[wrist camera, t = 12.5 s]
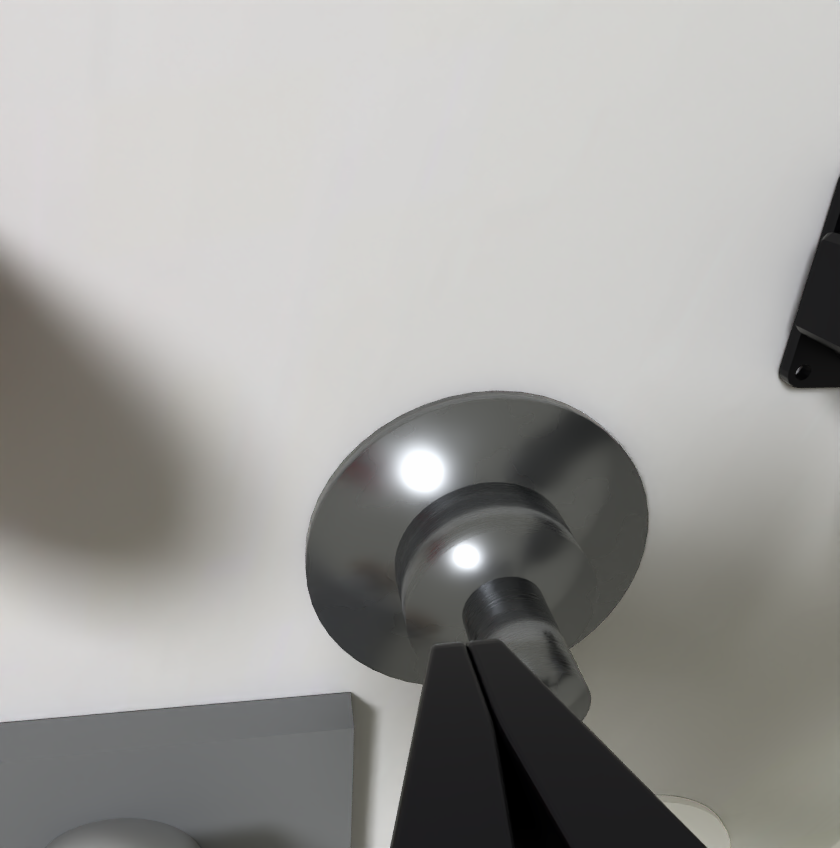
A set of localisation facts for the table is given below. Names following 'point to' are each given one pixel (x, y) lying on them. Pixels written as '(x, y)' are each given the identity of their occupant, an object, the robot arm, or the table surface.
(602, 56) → the table surface
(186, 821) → the board
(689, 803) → the panda figurine
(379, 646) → the stand
